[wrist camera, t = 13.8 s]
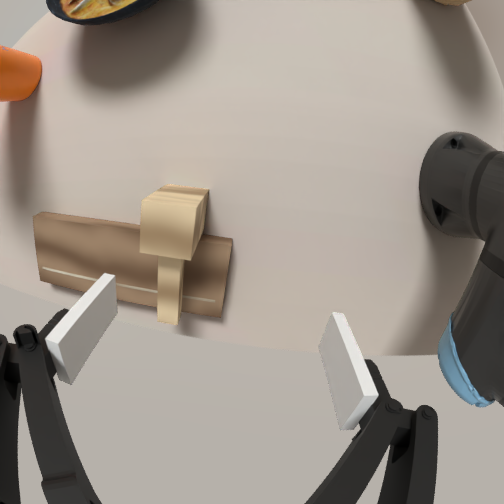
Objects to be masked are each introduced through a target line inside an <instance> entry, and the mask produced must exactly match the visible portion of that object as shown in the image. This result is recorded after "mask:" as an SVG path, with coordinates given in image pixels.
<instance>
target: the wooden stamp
mask: <svg viewBox="0 0 504 504" xmlns="http://www.w3.org/2000/svg"><path fill="white" fill-rule="evenodd" d="M208 193H209V189H203V188H195V187H188V186H180V185H172V184H167V185H165V186H163V187H162V188H160V189H159V190H157V191H155V192H154V193H152V194H151V195H149V196H148V197H146V198H145V199H143V200H142V205H141V223H140V253H146V254H152V255H158V296H157V317H158V322H162V323H168V324H173V325H178V322H179V319H180V316H181V308H182V291H183V276H184V263H185V260H190V261H191V259H192V257H193V254H194V252H195V249H196V247H197V244H198V242H199V240H200V237H201V235H202V233H203V230H204V223H205V215H206V207H207V200H208Z"/></svg>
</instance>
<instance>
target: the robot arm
mask: <svg viewBox="0 0 504 504" xmlns="http://www.w3.org/2000/svg"><path fill="white" fill-rule="evenodd" d="M420 197H421V202H422V206H423V209H424V211H425V213H426V215H427V217H428V219H429V220H430V222H431V223H432V224H433V225H434V226H435V227H436V228H438V229H439V230H441V231H443V232H444V233H446V234H448V235H450V236H453V237H461V238H474V239H481V240H483V241H485V245H484V247H483V250H482V253H481V255H480V257H479V260H478V262H477V265H476V267H475V270H474V272H473V275H472V277H471V279H470V281H469V283H468V286H467V288H466V290H465V292H464V294H463V296H462V298H461V300H460V302H459V304H458V306H457V308H456V310H455V311H454V312H453V313H452V314H451V316H450V318H449V323H448V325H447V327H446V329H445V331H444V333H443V335H442V337H441V339H440V341H439V344H438V359H439V365H440V368H441V371H442V373H443V375H444V377H445V379H446V381H447V382H448V384H449V385H450V386H451V388H452V389H453V390H454V392H456V394H457V395H458V396H459V397H460V398H462V399H463V400H464V401H466V402H467V403H469V404H471V405H473V404H475V405H476V406H477V407H486V406H488V405H490V404H492V403H493V402H494V401H495V400H496V401H498V402H499V403H500V404H501V405H502V406H503V407H504V152H502V151H497V150H496V149H495V148H493V147H492V146H490V145H489V144H487V143H486V142H484V141H482V140H481V139H479V138H478V137H476V136H474V135H472V134H469V133H464V132H448V133H445V134H443V135H441V136H440V137H439V138H437V139H436V140H435V141H434V142H433V144H432V145H431V146H430V148H429V149H428V151H427V153H426V155H425V158H424V161H423V164H422V168H421V173H420ZM117 313H118V311H117V298H116V281H115V275H111V274H107V273H104V274H103V275H102V276H101V277H100V278H99V279H98V280H97V281H96V282H95V283H94V284H93V285H92V287H91V288H90V289H89V290H88V291H87V292H86V293H85V294H84V295H83V296H82V297H81V298H80V299H79V300H78V302H77V303H76V304H75V305H74V306H73V307H72V308H71V309H70V310H68V309H63V310H61V311H59V312H57V313H56V314H55V316H54V317H53V318H52V319H51V320H50V321H49V322H48V324H46V325H45V327H44V328H43V329H42V330H41V331H40V332H39V333H37V330H36V328H35V327H34V326H32V325H28V324H26V325H25V324H24V325H21V326H19V327H18V328H16V329H15V331H14V333H13V336H14V339H15V342H16V344H12V343H8V341H7V338H6V337H5V336H4V335H2V334H0V504H21V502H20V491H19V478H18V457H17V456H18V453H17V452H18V448H17V446H18V445H17V444H18V418H19V406H20V396H21V388H22V394H23V401H24V406H25V412H26V417H27V422H28V427H29V431H30V436H31V440H32V444H33V447H34V451H35V454H36V458H37V461H38V465H39V468H40V471H41V474H42V477H43V481H42V482H41V486H42V489H43V492H44V495H45V497H46V500H47V502H48V504H102V503H101V501H100V500H99V498H98V497H97V495H96V493H95V492H94V490H93V487H92V485H91V483H90V482H89V479H88V477H87V475H86V473H85V470H84V468H83V466H82V463H81V461H80V459H79V456H78V454H77V451H76V449H75V446H74V443H73V441H72V438H71V435H70V432H69V430H68V427H67V424H66V420H65V418H64V414H63V411H62V408H61V404H60V400H59V397H58V393H57V389H56V385H55V381H54V379H53V377H54V375H55V374H56V372H57V375H58V378H59V380H61V381H63V382H65V383H68V384H70V385H72V383H73V382H74V380H75V378H76V377H77V375H78V373H79V372H80V370H81V368H82V367H83V365H84V364H85V362H86V360H87V359H88V357H89V356H90V354H91V352H92V351H93V349H94V348H95V346H96V345H97V343H98V342H99V340H100V338H101V337H102V335H103V334H104V332H105V331H106V329H107V328H108V326H109V325H110V323H111V322H112V320H113V319H114V318H115V316H116V315H117ZM318 347H319V351H320V354H321V358H322V362H323V365H324V369H325V373H326V376H327V380H328V384H329V388H330V392H331V396H332V399H333V403H334V407H335V412H336V416H337V420H338V424H339V428H340V430H352V429H354V428H355V427H356V426H357V424H358V423H359V424H360V428H361V429H360V430H359V432H358V433H357V434H356V436H354V438H353V439H352V440H353V441H352V442H351V444H350V445H349V447H348V448H347V450H346V451H345V453H344V454H343V455H342V457H341V458H340V460H339V461H338V463H337V464H336V465H335V467H334V468H333V470H332V471H331V472H330V473H329V475H328V476H327V477H326V479H325V480H324V481H323V482H322V484H321V485H320V486H319V487H318V489H317V490H316V491H315V492H314V494H313V495H312V496H311V497H310V498H309V499H308V501H307V502H306V503H305V504H356V502H357V501H358V499H359V498H360V496H361V495H362V493H363V491H364V490H365V488H366V486H367V485H368V483H369V481H370V480H371V478H372V476H373V474H374V473H375V471H376V469H377V467H378V466H379V464H380V462H381V460H382V458H383V456H384V454H385V452H386V450H387V448H388V446H389V445H390V450H389V456H388V461H387V466H386V471H385V476H384V480H383V484H382V488H381V492H380V496H379V500H378V503H377V504H433V502H434V494H435V484H436V473H437V455H438V416H437V413H436V411H435V410H434V409H433V408H432V407H430V406H428V405H421V406H420V407H418V409H417V410H416V411H413V410H408V409H404V408H403V406H402V405H401V403H400V402H398V401H397V400H395V399H392V398H391V397H390V394H389V392H388V390H387V388H386V386H385V383H384V381H383V380H382V376H381V374H380V372H379V370H378V368H377V366H376V365H375V364H374V363H373V361H372V360H366V359H363V356H362V354H361V352H360V349H359V347H358V345H357V343H356V340H355V338H354V336H353V334H352V331H351V329H350V327H349V325H348V322H347V320H346V318H345V316H344V314H343V313H335V312H332V313H331V316H330V319H329V321H328V324H327V326H326V329H325V332H324V334H323V337H322V339H321V342H320V344H319V346H318Z"/></svg>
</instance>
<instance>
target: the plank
mask: <svg viewBox="0 0 504 504" xmlns="http://www.w3.org/2000/svg"><path fill="white" fill-rule="evenodd" d="M33 226H34V237H35V247H36V255H37V262H38V268H39V275H40V280H41V281H44V282H47V283H51V284H55V285H58V286H62V287H66V288H70V289H74V290H78V291H82V292H87V291H88V290H89V289H90V288H91V287H92V285H93V284H94V283H95V282H96V281H97V280H98V279H99V278H100V277H101V276H102V275H103V274H104V273H107V274H111V275H115V281H116V298H117V299H118V300H122V301H127V302H132V303H137V304H142V305H147V306H153V307H157V296H158V255H152V254H146V253H140V225H136V224H129V223H122V222H115V221H108V220H100V219H93V218H86V217H79V216H71V215H64V214H56V213H49V212H41V213H39V214H37V215H35V216H33ZM231 247H232V239H231V238H225V237H218V236H211V235H205V234H202V235H201V237H200V240H199V242H198V244H197V247H196V249H195V252H194V254H193V257H192V259H191V261H190V260H185V263H184V276H183V291H182V308H181V312H187V313H193V314H199V315H206V316H213V317H219V318H221V313H222V306H223V299H224V292H225V286H226V279H227V272H228V266H229V260H230V253H231Z"/></svg>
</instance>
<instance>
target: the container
mask: <svg viewBox="0 0 504 504" xmlns="http://www.w3.org/2000/svg"><path fill="white" fill-rule="evenodd" d="M434 1H436V2H439V3H442V4H444V5H447V4H449V5H454V6H459V5H461V4H464V3H466V2H469V1H471V0H434Z"/></svg>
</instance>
